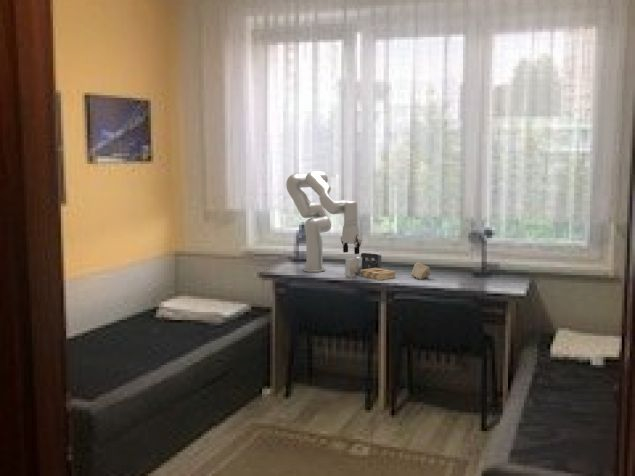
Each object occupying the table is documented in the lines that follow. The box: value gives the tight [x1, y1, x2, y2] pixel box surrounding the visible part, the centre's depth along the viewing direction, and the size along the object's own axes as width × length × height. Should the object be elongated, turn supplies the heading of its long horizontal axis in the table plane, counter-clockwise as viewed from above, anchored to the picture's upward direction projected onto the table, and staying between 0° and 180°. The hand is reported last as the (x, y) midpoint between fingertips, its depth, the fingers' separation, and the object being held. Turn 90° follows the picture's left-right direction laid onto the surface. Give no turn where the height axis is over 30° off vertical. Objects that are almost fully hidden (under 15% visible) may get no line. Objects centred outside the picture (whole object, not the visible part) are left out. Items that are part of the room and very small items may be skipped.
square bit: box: [344, 257, 356, 278], centre depth 390 cm, size 4×4×10 cm
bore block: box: [359, 268, 396, 281], centre depth 388 cm, size 16×12×4 cm
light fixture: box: [360, 252, 382, 270], centre depth 408 cm, size 11×13×11 cm
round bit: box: [354, 256, 362, 276], centre depth 396 cm, size 4×4×10 cm
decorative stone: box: [410, 261, 431, 280], centre depth 386 cm, size 8×14×8 cm, turn 23°
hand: (351, 253), depth 388 cm, fingers open, 9 cm apart
